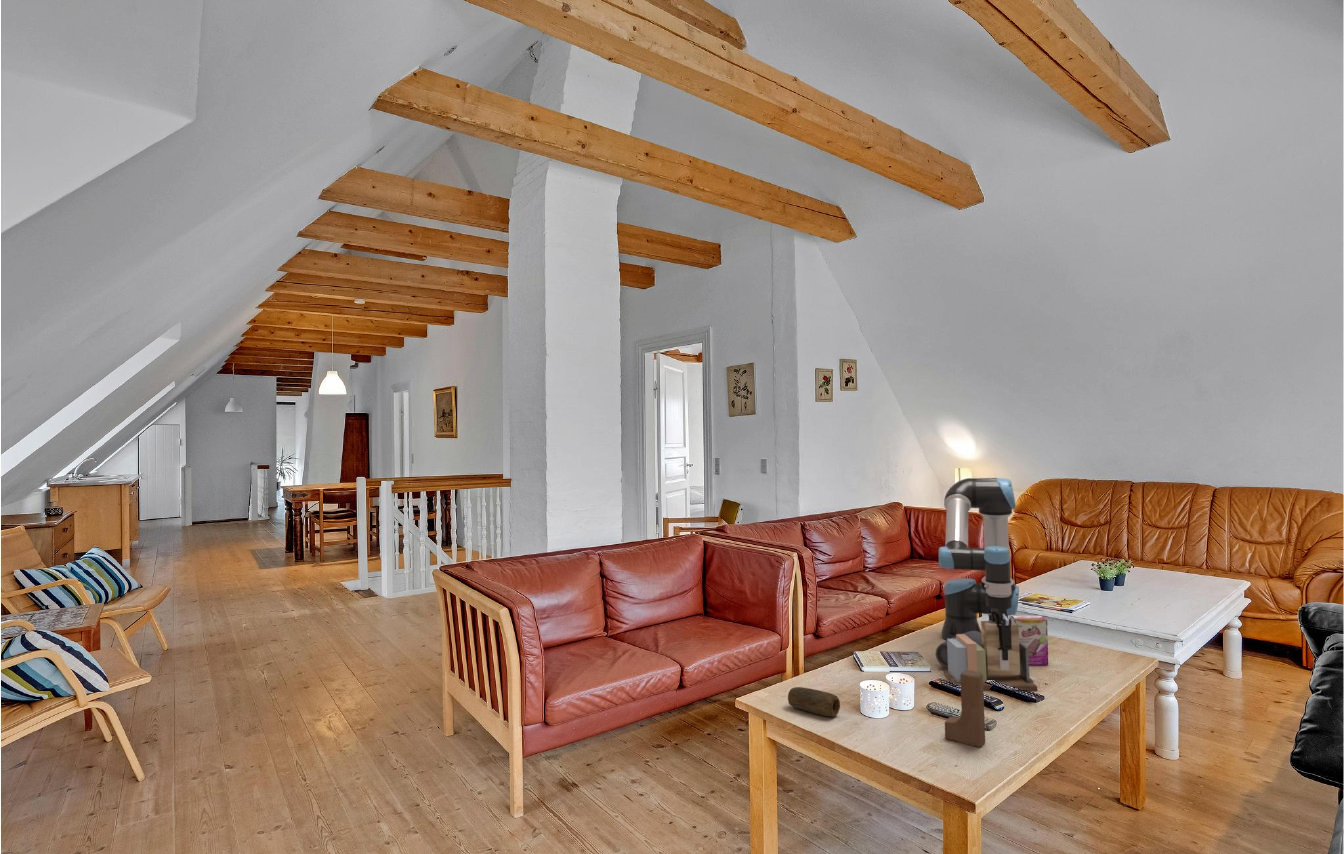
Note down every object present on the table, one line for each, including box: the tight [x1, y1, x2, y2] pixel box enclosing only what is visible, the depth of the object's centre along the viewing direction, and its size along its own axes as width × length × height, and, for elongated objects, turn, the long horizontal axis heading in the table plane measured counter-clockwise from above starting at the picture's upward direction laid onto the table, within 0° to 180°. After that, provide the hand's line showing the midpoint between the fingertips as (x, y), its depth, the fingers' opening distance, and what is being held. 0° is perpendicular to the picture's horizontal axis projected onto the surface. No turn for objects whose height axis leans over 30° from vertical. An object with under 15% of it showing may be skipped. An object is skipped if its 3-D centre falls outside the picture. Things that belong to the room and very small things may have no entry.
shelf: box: [943, 670, 1038, 692], centre depth 217 cm, size 14×24×2 cm, turn 84°
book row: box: [946, 634, 987, 682], centre depth 218 cm, size 11×9×12 cm
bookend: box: [1018, 642, 1035, 684], centre depth 216 cm, size 8×2×11 cm, turn 174°
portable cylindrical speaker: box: [787, 686, 841, 718], centre depth 197 cm, size 15×7×7 cm, turn 52°
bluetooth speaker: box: [935, 631, 982, 669], centre depth 236 cm, size 23×9×10 cm, turn 131°
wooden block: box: [944, 670, 986, 748], centre depth 175 cm, size 9×4×18 cm, turn 50°
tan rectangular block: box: [980, 620, 1020, 675], centre depth 217 cm, size 5×10×16 cm, turn 85°
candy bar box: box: [1009, 614, 1049, 666], centre depth 235 cm, size 11×5×16 cm, turn 84°
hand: (1001, 666), depth 217 cm, fingers closed on tan rectangular block, 4 cm apart
